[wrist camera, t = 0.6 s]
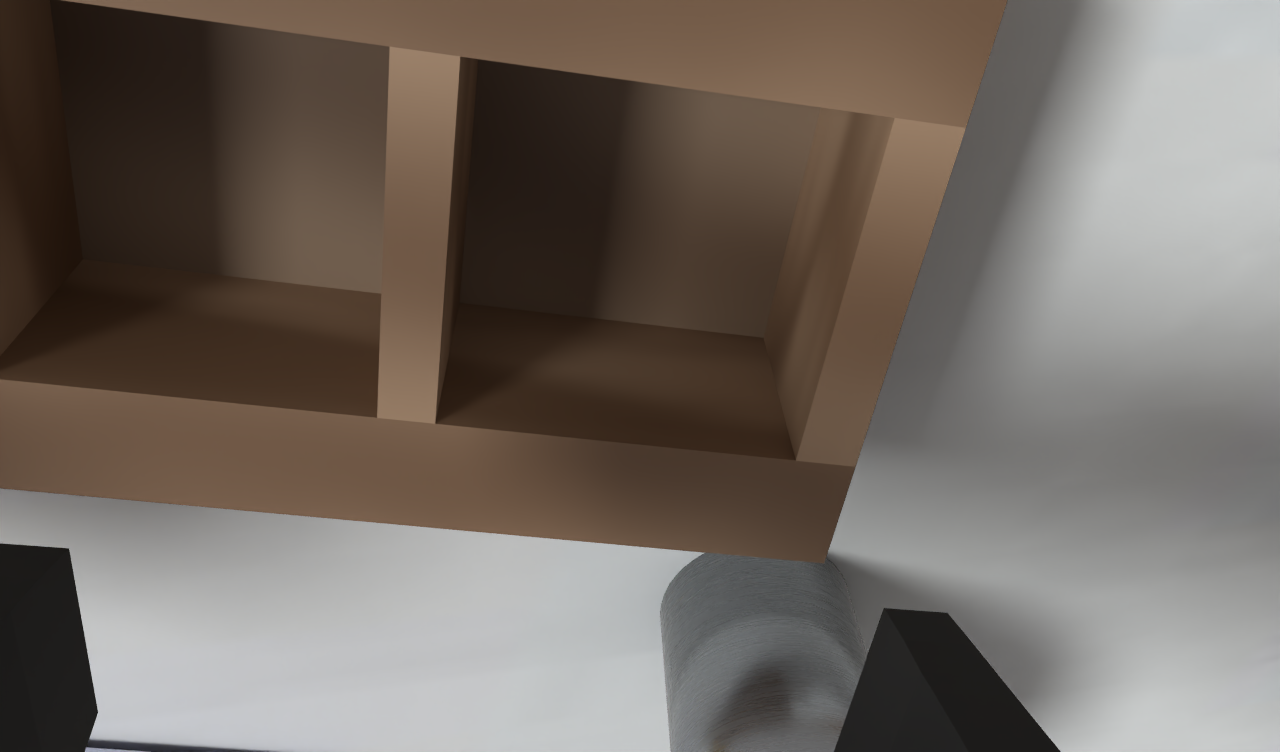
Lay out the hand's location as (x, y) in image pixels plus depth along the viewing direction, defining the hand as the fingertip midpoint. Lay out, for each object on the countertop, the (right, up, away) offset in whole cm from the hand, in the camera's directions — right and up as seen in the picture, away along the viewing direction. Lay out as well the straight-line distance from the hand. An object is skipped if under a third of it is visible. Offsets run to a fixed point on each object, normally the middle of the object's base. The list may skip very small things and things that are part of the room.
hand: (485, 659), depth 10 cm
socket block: (-2, +6, +7) cm, 10 cm away
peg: (+4, -2, +13) cm, 14 cm away
